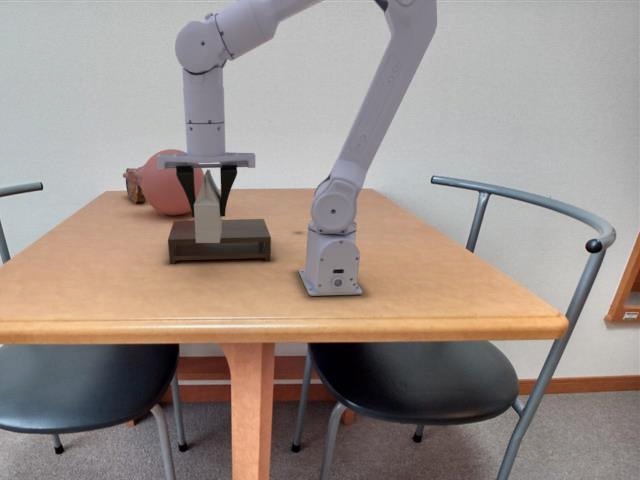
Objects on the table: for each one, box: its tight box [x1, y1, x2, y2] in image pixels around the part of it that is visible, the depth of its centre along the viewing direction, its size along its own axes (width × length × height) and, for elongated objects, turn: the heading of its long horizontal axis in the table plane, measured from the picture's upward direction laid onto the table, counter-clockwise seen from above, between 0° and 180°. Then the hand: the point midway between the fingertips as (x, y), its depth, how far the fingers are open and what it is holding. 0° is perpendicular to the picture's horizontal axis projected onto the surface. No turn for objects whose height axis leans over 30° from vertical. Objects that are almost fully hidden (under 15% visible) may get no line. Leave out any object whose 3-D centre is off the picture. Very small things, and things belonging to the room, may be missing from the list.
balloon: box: [122, 148, 205, 216], centre depth 105 cm, size 15×20×15 cm
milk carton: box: [194, 168, 223, 243], centre depth 68 cm, size 4×7×10 cm, turn 179°
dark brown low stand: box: [167, 218, 272, 265], centre depth 82 cm, size 12×18×4 cm, turn 93°
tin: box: [125, 167, 147, 204], centre depth 121 cm, size 15×3×8 cm, turn 25°
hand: (209, 215), depth 68 cm, fingers closed on milk carton, 4 cm apart
